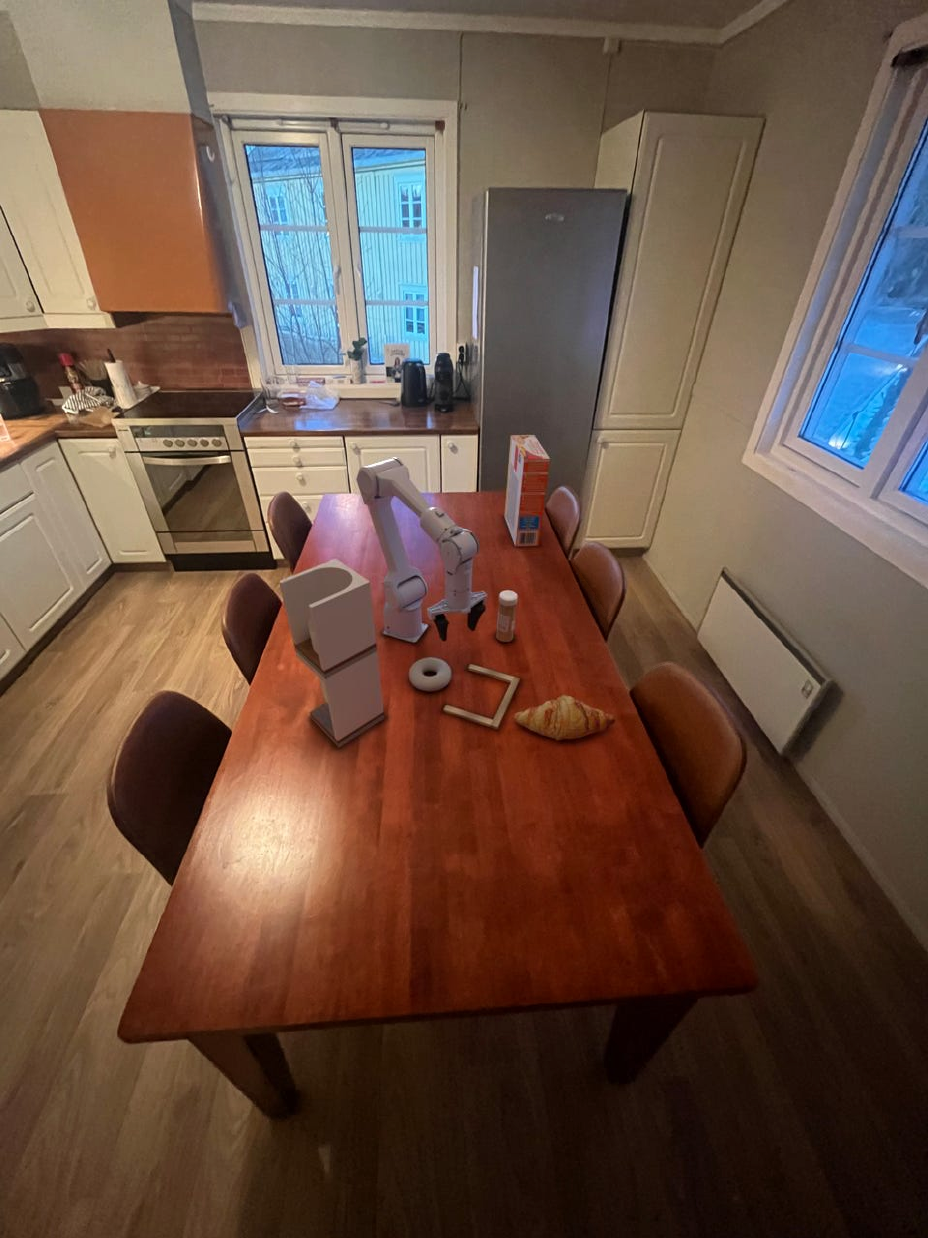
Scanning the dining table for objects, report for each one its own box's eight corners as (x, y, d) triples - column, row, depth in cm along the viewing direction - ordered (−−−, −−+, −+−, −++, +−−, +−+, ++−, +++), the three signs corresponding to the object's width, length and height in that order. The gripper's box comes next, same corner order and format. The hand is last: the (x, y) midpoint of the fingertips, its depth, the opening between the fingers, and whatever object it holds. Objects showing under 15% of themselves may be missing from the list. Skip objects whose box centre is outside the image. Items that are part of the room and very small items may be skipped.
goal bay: (443, 711, 110) (443, 709, 109) (470, 666, 122) (470, 663, 121) (497, 729, 106) (497, 727, 106) (519, 681, 118) (519, 678, 118)
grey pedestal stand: (355, 692, 114) (335, 558, 93) (384, 718, 108) (369, 581, 87) (311, 718, 107) (278, 581, 86) (338, 747, 102) (311, 607, 80)
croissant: (513, 744, 108) (517, 736, 100) (512, 698, 112) (515, 688, 104) (612, 745, 107) (623, 737, 100) (607, 699, 112) (617, 688, 104)
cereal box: (538, 545, 171) (550, 458, 153) (515, 546, 170) (524, 458, 152) (525, 516, 189) (534, 435, 171) (504, 516, 188) (510, 435, 170)
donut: (449, 664, 122) (408, 665, 121) (450, 653, 120) (408, 654, 119) (452, 694, 114) (408, 695, 114) (453, 683, 112) (408, 684, 111)
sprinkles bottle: (516, 639, 131) (521, 596, 122) (502, 645, 129) (506, 602, 120) (506, 629, 134) (510, 587, 125) (492, 635, 132) (495, 593, 123)
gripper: (437, 603, 103) (438, 653, 111) (496, 585, 109) (492, 633, 117) (422, 587, 108) (423, 636, 116) (479, 570, 114) (476, 617, 122)
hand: (457, 633), depth 117 cm, fingers open, 7 cm apart
